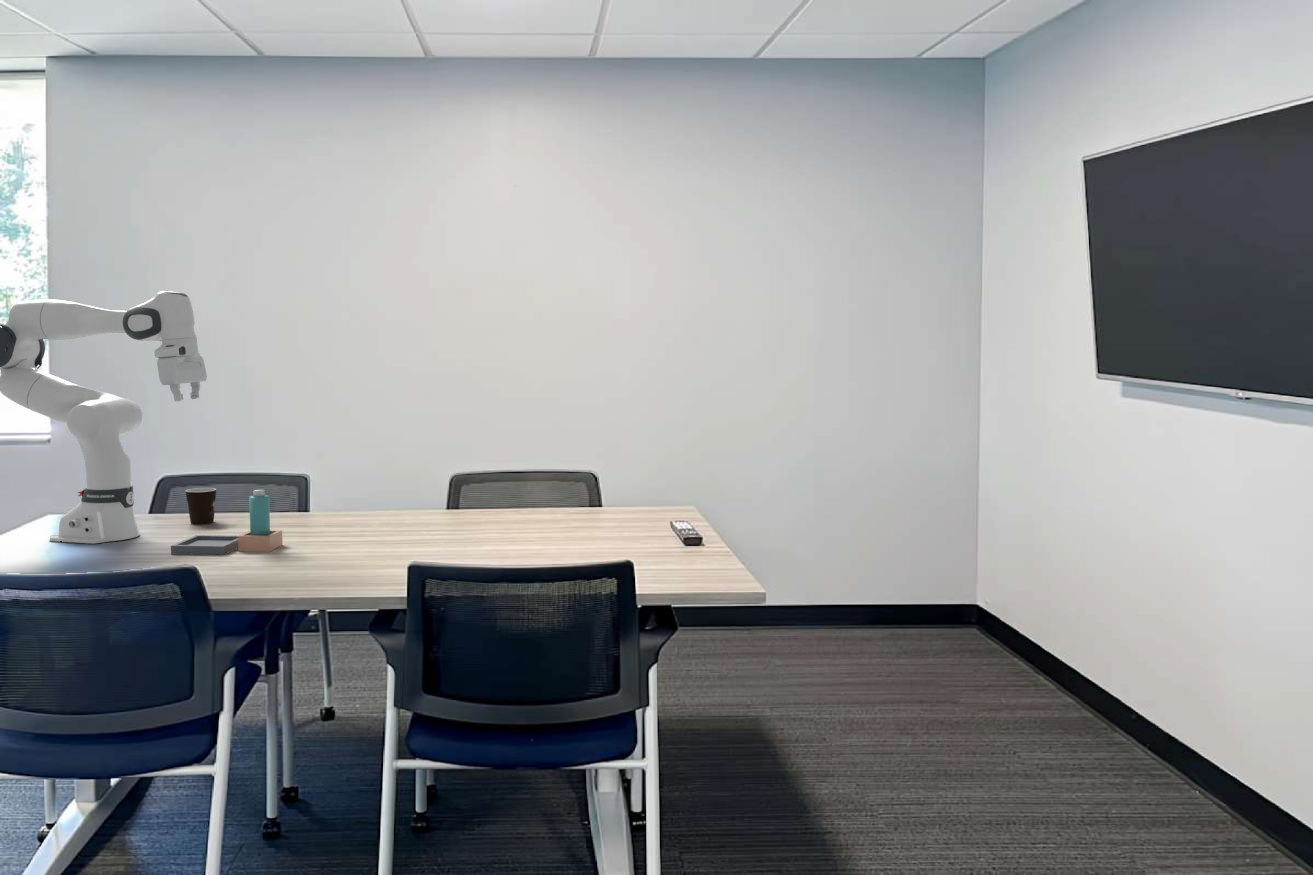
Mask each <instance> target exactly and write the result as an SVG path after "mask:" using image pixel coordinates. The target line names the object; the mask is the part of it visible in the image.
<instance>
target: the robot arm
mask: <svg viewBox="0 0 1313 875" xmlns="http://www.w3.org/2000/svg"><path fill="white" fill-rule="evenodd" d="M7 320H8V321H6V323H1V322H0V393H1V394H2V395H3V396H4V397H6V398H7V399H9V400H10V401H13V402H14V403H16V404H18V405H19V406H21V407H24V408H25V409H29V410H30V411H33V412H35V413H37V414H39V415H43V416H45V417H47V418H49V419H52V420H55V421H57V422H61V423H62V422H63V423H66V425H67V429H68V431H69V432H71V434H72V435H73V436H74V437H75V438H76V439H77V441H78V444H79V446H80V449H81V452H82V455H83V459H84V464H85V476H86V477H85V478H86V488H84V489H82V490H81V491H77V494H78V495H77V497H81V500H80V502H79V503H78V504H76V505H75V506H74V507H73V508H70V510H69V511H67V512H66V513H65V514H64V515H62V516H61V518H60V519H59V524H58V532H56V533H54V534H52V535H50V537H49V541H50V542H60V541H62V543H78V544H79V543H80V544H100V543H107V542H116V541H124V540H128V539H129V540H130V539H133V538H134V539H135V538H136V537H138V536H140V534H141V533H140V531H139V528H138V525H137V520H136V517H135V511H134V504H135V503H134V502H135V499H134V497H135V496H134V494H135V493H134V487H133V485H132V474H131V473H132V469H131V459H130V457H129V456H128V454H126V452H125V451H124V448H123V447H122V443H121V439H120V437H121V436H125V435H128V434H130V433H132V432H133V431H135V429H137V428H138V427H139V426H140V425H141V422H142V420H143V412H142V409H141V407H140V405H139V404H138V403H137V402H135V401H134V400H132V399H129V398H126V397H120V396H118V395H114V394H110V393H108V392H104V391H101V390H98V389H94V388H90V387H86V386H82V385H79V384H77V383H76V384H75V383H74V382H70V381H68V380H66V379H63V378H60V377H58V376H56V375H54V374H50V373H48V372H46V371H43V370H40V368H41V366H42V365H43V359H44V356H45V352H46V344H45V341H44V340H49V341H51V340H52V341H53V340H54V341H62V340H63V341H64V340H66V341H67V340H74V339H79V338H80V339H81V338H85V337H92V336H97V335H105V334H126V335H127V336H129V337H130V338H131V339H133V340H135V341H136V340H137V341H141V342H143V341H145V342H148V341H150V342H151V341H155V342H156V341H157V342H158V341H159V342H161V345H159V347H158V348H155V350H154V357H155V358H156V359H157V360H156V362H157V363H156V365H157V372H158V378H159V380H160V383H161V384H162V386H169V389H170V391H171V393H172V395H173V400H174V402H183V401H184V394H183V393H182V392H181V385H183V384H190V387H191V391H190V393H189V394H190V398H191V400H197V399H199V398H200V394H199V393H200V388H201V382H206V381H207V378H208V377H207V376H208V375H207V371H206V370H207V369H206V365H205V360H204V358H203V356H201V354H200V353H199V347H198V345H199V344H198V340H197V339H198V338H197V335H196V332H195V327H194V326H195V316H194V310H193V306H192V302H191V299H190V297H189V296H188V295H187V294H186V293H184V292H179V291H168V290H161V291H159V292H157V293H156V295H154V296H153V297H152V298H151V299H149V300H147V301H146V302H144V303H141V304H139V305H135V306H133V307H130V308H128V309H127V310H112V309H111V310H110V309H104V308H100V307H95V306H92V305H88V304H82V303H78V302H75V301H70V300H69V301H68V300H61V299H32V300H30V299H29V300H24V301H19V302H16V303H15V304H14V305H13V306H12V307H11V308H10V310H9V312H8V319H7Z"/></svg>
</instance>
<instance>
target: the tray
mask: <svg viewBox="0 0 1313 875" xmlns="http://www.w3.org/2000/svg"><path fill="white" fill-rule="evenodd" d="M238 536H239V535H216V534H215V535H209V534H206V535H205V534H202V535H200V534H196V535H193V536H191V537H188V538H186V539H184V540H181V541H179V542H176V543H174V544H172V545H170V554H171V555H207V554H210V555H212V554H224V555H226V553H227V554H228V552H229V553H230V552H232V550H233V551H235V550H237V549H238ZM236 548H237V549H236Z"/></svg>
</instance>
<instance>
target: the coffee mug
mask: <svg viewBox="0 0 1313 875" xmlns="http://www.w3.org/2000/svg"><path fill="white" fill-rule="evenodd" d="M184 492H185V496H186V504H187V509H188V514H189V520H190V524H191V525H198V526H199V525H210V524H213V523H214V521H215V511H216V500H217V499H216V498H217V497H216V496H217V488H214V487H196V488H189V489H186V490H185V491H184Z"/></svg>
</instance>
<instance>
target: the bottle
mask: <svg viewBox="0 0 1313 875" xmlns="http://www.w3.org/2000/svg"><path fill="white" fill-rule="evenodd" d="M265 491H266V490H265V489H253V494H252V495H249V496H248V502H249V503H248V504H249V531H250V536H268V535H270V530H271V516H270V514H271V513H270V512H271V511H270V495H267V494H266V493H265Z"/></svg>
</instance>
